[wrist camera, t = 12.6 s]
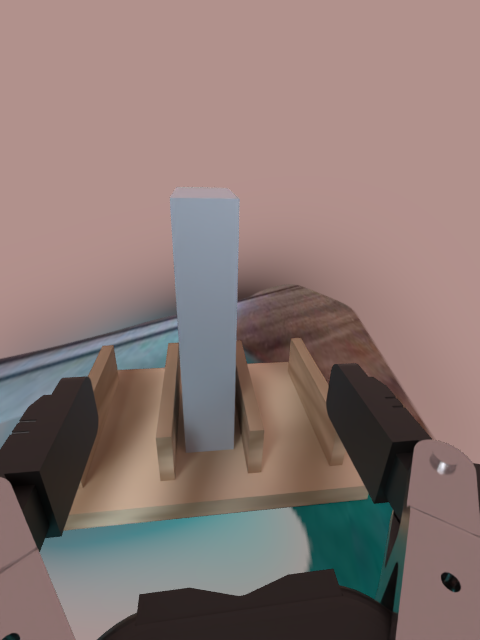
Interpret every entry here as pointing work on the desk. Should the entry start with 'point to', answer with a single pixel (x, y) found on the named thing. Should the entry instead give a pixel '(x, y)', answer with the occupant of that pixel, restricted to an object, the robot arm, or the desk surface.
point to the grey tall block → (206, 311)
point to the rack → (210, 466)
